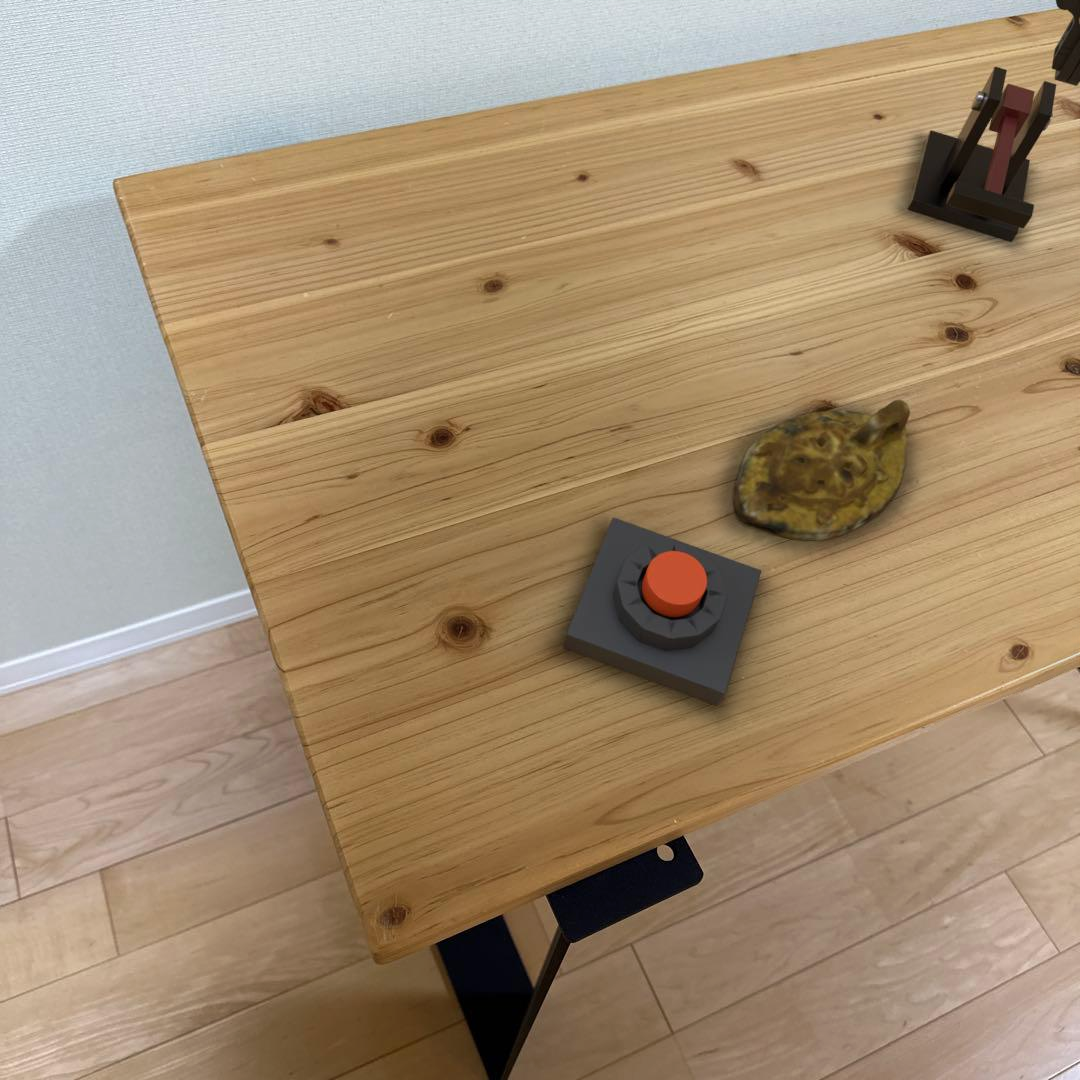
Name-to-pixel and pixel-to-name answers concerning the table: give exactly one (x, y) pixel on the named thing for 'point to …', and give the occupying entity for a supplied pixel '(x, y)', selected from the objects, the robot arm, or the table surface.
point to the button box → (662, 616)
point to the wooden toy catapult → (978, 159)
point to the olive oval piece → (823, 472)
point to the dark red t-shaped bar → (999, 165)
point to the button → (674, 584)
